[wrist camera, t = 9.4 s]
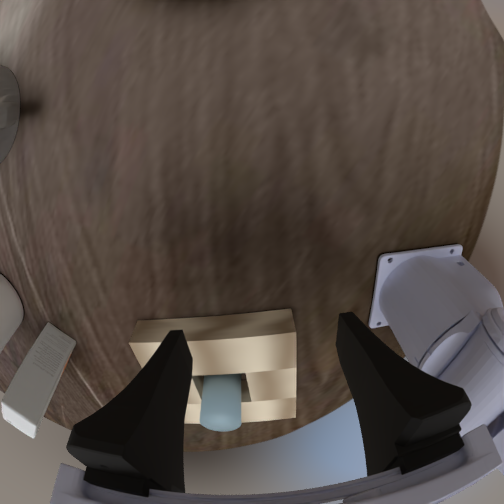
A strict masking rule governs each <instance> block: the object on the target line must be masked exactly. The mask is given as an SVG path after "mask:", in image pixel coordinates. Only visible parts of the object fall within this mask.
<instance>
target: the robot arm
mask: <svg viewBox="0 0 504 504" xmlns="http://www.w3.org/2000/svg"><path fill="white" fill-rule="evenodd" d="M451 249H452V250H451ZM462 249H463V248H462V246H461V245H460V244H455V245H448V246H440V247H433V248H426V249H418V250H411V251H403V252H395V253H387V254H382V255H381V256H380V257H379V259H378V266H377V274H376V281H375V288H374V294H373V301H372V306H371V312H370V318H369V323H368V324H369V327H370V328H377V327H382V326H387V325H389V326H390V328H391V330H392V331H393V333H394V335H395V337H396V339H397V340H398V342H399V344H400V346H401V348H402V350H403V352H404V353H405V355H406V357H407V359H408V361H409V362H407V361H406V360H405V359H403V358H402V357H400V356H399V355H398V354H396V353H395V352H394V351H393V350H391V349H390V348H389V347H388V346H387V345H386V344H384V343H383V342H382V341H381V340H380V339H379V338H378V337H377V336H376V335H375V334H374V333H373V332H371V331H370V330H369V329H368V328H367V327H366V326H365V325H364V323H363V322H362V321H361V320H360V319H359V318H358V317H357V316H356V315H355V314H354V313H353V312H347V313H340V314H339V321H338V330H337V339H336V347H337V352H338V356H339V360H340V364H341V367H342V369H343V372H344V375H345V377H346V380H347V383H348V385H349V388H350V391H351V394H352V396H353V399H354V402H355V405H356V409H357V413H358V418H359V423H360V428H361V433H362V438H363V444H364V450H365V458H366V467H367V477H364V478H360V479H356V480H352V481H348V482H343V483H339V484H334V485H329V486H323V487H318V488H312V489H305V490H298V491H290V492H281V493H270V494H252V495H206V494H205V495H204V494H189V493H185V485H184V470H183V469H184V468H183V438H184V421H185V414H186V408H187V403H188V397H189V392H190V386H191V380H192V369H193V358H192V355H191V352H190V349H189V347H188V344H187V341H186V338H185V335H184V332H183V330H170V331H169V332H168V334H167V335H166V337H165V338H164V340H163V341H162V343H161V344H160V345H159V347H158V348H157V350H156V351H155V353H154V354H153V355H152V357H151V358H150V359H149V361H148V362H147V363H146V365H145V366H144V367H143V368H142V370H141V371H140V372H139V373H138V374H137V376H136V377H135V378H134V379H133V380H132V381H131V382H130V383H129V384H128V386H127V387H126V388H125V389H124V390H123V391H121V392H120V393H119V394H118V395H117V396H116V397H115V398H113V399H112V400H111V401H110V402H109V403H108V404H106V405H105V406H104V407H102V408H101V409H99V410H98V411H97V412H95V413H94V414H92V415H91V416H89V417H87V418H85V419H84V420H82V421H80V422H78V423H77V424H75V425H74V426H73V429H72V431H71V434H70V437H69V441H68V443H67V447H66V448H67V450H68V452H69V453H70V454H71V455H73V456H74V457H75V458H76V459H78V460H79V461H80V462H81V463H83V464H84V465H85V466H87V467H86V471H83V470H81V469H79V468H75V467H72V466H69V465H66V464H63V463H61V464H60V467H59V471H58V475H57V478H56V482H55V485H54V489H53V493H52V497H51V501H50V504H320V503H326V502H331V501H336V500H341V499H344V500H343V503H340V504H438V503H440V502H442V501H444V500H446V499H448V498H450V497H451V496H453V495H455V494H457V493H459V492H461V491H463V490H464V489H466V488H468V487H470V486H471V485H473V484H475V483H476V482H478V481H479V480H481V479H482V478H484V477H485V476H487V475H488V474H489V473H491V472H492V471H493V470H495V469H499V470H500V472H501V473H502V474H503V475H504V308H503V304H502V301H501V298H500V295H499V293H498V291H497V290H496V288H495V287H494V286H493V285H492V284H491V283H490V282H489V281H488V280H487V279H486V278H485V277H484V276H483V275H482V274H481V273H480V272H479V271H478V270H477V269H476V268H475V267H473V266H472V265H471V264H470V263H469V262H468V261H467V260H466V259H465V258H464V257H462V256H461V254H462ZM389 258H391V259H390V260H389V261H388V259H389ZM378 322H379V323H378Z"/></svg>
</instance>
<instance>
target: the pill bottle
mask: <svg viewBox="0 0 504 504" xmlns="http://www.w3.org/2000/svg"><path fill="white" fill-rule="evenodd" d="M23 315H24V312H23V306H22V303H21V300H20V298H19V296H18V294H17V292H16V291H15V289H14V288H13V286H12V285H11V284H10V283H9V281H8V280H7V279H6V278H5V277H4V276H3V275H1V274H0V352H1V351H2V350H3V348H4V347H5V345H6V344H7V342H8V341H9V339H10V338H11V337H12V335H13V334H14V332H15V331H16V330H17V328H18V327H19V326H20V324H21V322H22V320H23Z"/></svg>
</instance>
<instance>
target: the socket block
mask: <svg viewBox="0 0 504 504" xmlns="http://www.w3.org/2000/svg"><path fill="white" fill-rule="evenodd" d="M170 330H183V332H184V335H185V338H186V341H187V344H188V347H189V349H190V352H191V355H192V358H193V369H192V380H191V386H190V392H189V397H188V403H187V408H186V414H185V421H184V423H200V411H201V401H202V392H203V383H204V377H203V375H221V374H238V373H246V377H247V380H241V422H256V421H268V420H278V419H287V418H295V417H296V329H295V324H294V320H293V315H292V310H291V309H282V310H273V311H264V312H254V313H244V314H233V315H221V316H208V317H194V318H178V319H159V320H138V321H137V324H136V326H135V329H134V331H133V334H132V336H131V339H130V341H129V344H130V346H131V348H132V350H133V352H134V354H135V356H136V358H137V360H138V361H139V363H140V365H141V367H142V368H143V367H144V366H145V365H146V363H147V362H148V361H149V359H150V358H151V357H152V355H153V354H154V353H155V351H156V350H157V348H158V347H159V345H160V344H161V343H162V341H163V340H164V338H165V337H166V335H167V334H168V332H169V331H170Z"/></svg>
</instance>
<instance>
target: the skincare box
mask: <svg viewBox="0 0 504 504" xmlns="http://www.w3.org/2000/svg"><path fill="white" fill-rule="evenodd" d="M75 345H76V341H75V340H74V339H72V338H71V337H69V336H68V335H66V334H65V333H63V332H62V331H60V330H59V329H58V328H56V327H55V326H54V325H52V324H51V323H49V322H48V323H47V324H46V326H45V327H44V329H43V330H42V332H41V333H40V335H39V336H38V338H37V339H36V341H35V343H34V344H33V346H32V347H31V349H30V351H29V352H28V354H27V355H26V357H25V359H24V360H23V362H22V364H21V366H20V367H19V369H18V371H17V372H16V374H15V376H14V378H13V380H12V381H11V383H10V385H9V387H8V389H7V391H6V393H5V395H4V397H3V399H2V401H1V406H2V409H1V410H2V413H3V418H4V419H5V420H6V421H7V422H9V423H10V424H12V425H13V426H14V427H16V428H17V429H19V430H20V431H22V432H23V433H25V434H26V435H28V436H30V437H31V438H33V439H34V438H35V436H36V433H37V431H38V428H39V426H40V423H41V421H42V418H43V416H44V414H45V412H46V409H47V407H48V405H49V402H50V400H51V398H52V396H53V393H54V391H55V389H56V387H57V385H58V382H59V380H60V378H61V376H62V374H63V372H64V370H65V367H66V366H67V363H68V360H69V358H70V355H71V353H72V351H73V349H74V347H75Z"/></svg>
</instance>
